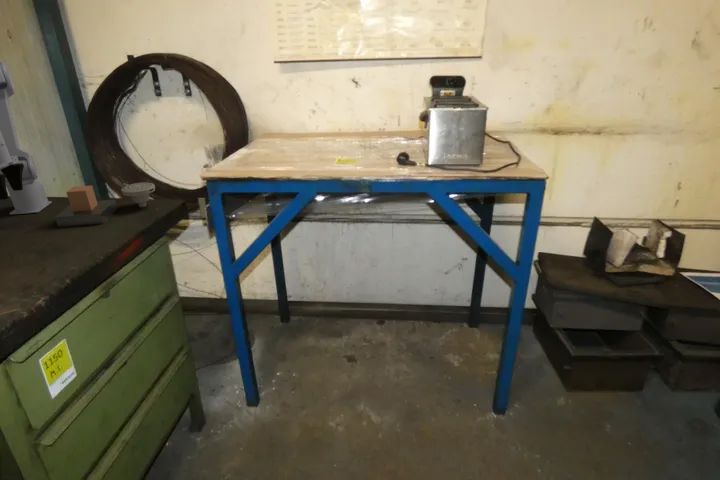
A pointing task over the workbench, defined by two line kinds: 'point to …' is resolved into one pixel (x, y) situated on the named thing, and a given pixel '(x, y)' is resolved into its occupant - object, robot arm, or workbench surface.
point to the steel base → (87, 214)
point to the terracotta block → (82, 198)
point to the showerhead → (138, 192)
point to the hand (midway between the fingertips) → (11, 194)
